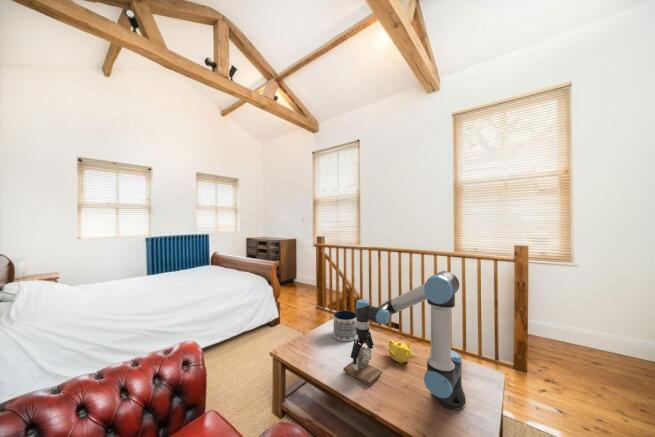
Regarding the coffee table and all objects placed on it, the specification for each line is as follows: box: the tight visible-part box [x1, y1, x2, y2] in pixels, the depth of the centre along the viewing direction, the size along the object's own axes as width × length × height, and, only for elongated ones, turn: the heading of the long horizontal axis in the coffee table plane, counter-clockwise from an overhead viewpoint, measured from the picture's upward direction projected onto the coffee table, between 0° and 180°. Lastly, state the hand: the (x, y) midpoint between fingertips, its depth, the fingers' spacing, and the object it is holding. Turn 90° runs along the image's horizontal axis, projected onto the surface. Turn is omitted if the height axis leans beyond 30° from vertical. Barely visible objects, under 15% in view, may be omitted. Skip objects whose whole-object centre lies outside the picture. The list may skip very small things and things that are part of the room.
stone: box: [357, 346, 370, 368], centre depth 138 cm, size 9×14×10 cm, turn 158°
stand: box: [343, 361, 383, 387], centre depth 138 cm, size 18×13×3 cm
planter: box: [333, 310, 358, 343], centre depth 184 cm, size 18×18×16 cm
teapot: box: [387, 339, 413, 365], centre depth 153 cm, size 20×18×11 cm
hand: (362, 363), depth 138 cm, fingers closed on stone, 13 cm apart
